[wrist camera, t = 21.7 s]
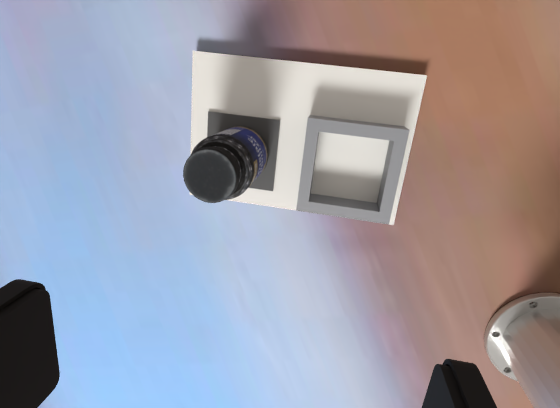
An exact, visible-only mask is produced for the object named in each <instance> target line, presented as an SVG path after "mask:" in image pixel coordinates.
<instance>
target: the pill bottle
mask: <svg viewBox="0 0 560 408" xmlns="http://www.w3.org/2000/svg"><path fill="white" fill-rule="evenodd" d="M267 161H268V149H267V146H266V143H265V141H264V139H263V138H262V137H261V136H260V135H259V134H257V133H256V132H255V131H254V130H253V129H251V128H248V127H243V126H236V127H232V128H229V129H227V130H224V131H222V132H219V133H217V134H214V135H212V136H209V137H207V138H205V139H203V140H201V141H200V142H199V143H198V144H197V145H196V146H195V147H194V149H193V151H192V153H191V156H190V157H189V158H188V159H187V161H186V163H185V166H184V171H183V172H184V173H183V177H184V181H185V184H186V186H187V188H188V190H189V191H190V192H191V193H192V194H193V195H194V196H195V197H196V198H198V199H200V200H202V201H204V202H208V203H216V202H221V201H223V200H229V199H233V198H236V197H238V196H240V195H241V194H243V193H244V192H245V191H246V190H247V188H248V187H249V186H250V185H251V184H252V183H253V182H254V181H255V179H256V178H257V177H258V176H259V175H260V174H261V173H262V171H263V170H264V169H265V167H266V165H267Z"/></svg>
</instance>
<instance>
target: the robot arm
mask: <svg viewBox="0 0 560 408" xmlns="http://www.w3.org/2000/svg"><path fill="white" fill-rule="evenodd" d="M484 345H485V349H486V352H487V355H488V357H489V358H490V360H491V362H492V363H493V365H494V366H495V367H496V368H497V369H498V370H499V371H500V372H501V373H502V374H504V375H505V376H507V377H509V378H511V379H513V380H516V381H518V382H519V384H520V385H521V387H522V389H523V390H524V392H525V394H526V395H527V397H528V399H529V400H530V402H531V404H532V405H533V407H534V408H560V294H558V293H536V294H530V295H526V296H523V297H520V298H518V299H515V300H513V301H511V302H509V303H508V304H506V305H505V306H503V307H502V308H501V309H500V310H499V311H497V312H496V313H495V314H494V316H493V317H492V318H491V320H490V321H489V323H488V325H487V328H486V330H485V335H484ZM59 374H60V373H59V365H58V357H57V349H56V342H55V334H54V326H53V318H52V310H51V302H50V295H49V293H48V292H47V291H46V290H45V287H44V286H43V284H40V283H37V282H31V281H26V280H20V279H18V280H14V281H12V282H10V283H8V284H6V285H5V286H3V287H2V288H0V408H37V407H38V406H39V405H40V404H41V403H42V402H43V401H44V400H45V399H46V398H47V397H48V396H49V394H50V393H51V392H52V391H53V390H54V389H55V387H56V385H57V383H58V381H59ZM422 408H497V406H496V404H495V402H494V400H493V398H492V396H491V394H490V392H489V390H488V388H487V386H486V384H485V382H484V379H483V377H482V375H481V373H480V371H479V369H478V368H477V366H476V365H475V364H473V363H468V362H462V361H457V360H451V359H446V360H445V361H444V363H443V365H441V364H436V365H435V367H434V370H433V373H432V376H431V380H430V383H429V386H428V389H427V393H426V396H425V399H424V402H423V406H422Z"/></svg>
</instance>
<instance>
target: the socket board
mask: <svg viewBox="0 0 560 408" xmlns="http://www.w3.org/2000/svg"><path fill="white" fill-rule="evenodd" d="M426 78H427V75H419V74H410V73H400V72H391V71H381V70H372V69H362V68H352V67H343V66H333V65H324V64H314V63H305V62H295V61H286V60H276V59H267V58H257V57H247V56H238V55H228V54H219V53H209V52H200V51H193V65H192V113H191V153H192V151H193V149H194V147H195V146H196V145H197V144H198V143H199V142H200V141H201V140H203V139H205V138H207V137H209V136H212V135H214V134H217V133H219V132H222V131H224V130H227V129H229V128H232V127H236V126H243V127H248V128H251V129H253V130H254V131H255V132H256V133H257V134H259V135H260V136H261V137H262V138H263V139H264V141H265V143H266V146H267V149H268V161H267V165H266V167H265V169H264V170H263V171H262V173H261V174H260V175H259V176H258V177H257V178H256V179H255V181H254V182H253V183H252V184H251V185H250V186H249V187H248V188H247V190H246V191H245V192H244V193H243V194H241V195H240V196H238V197H236V198H233V199H229V200H230V201H236V202H243V203H250V204H256V205H263V206H270V207H276V208H283V209H290V210H296V211H303V212H309V213H316V214H323V215H329V216H336V217H343V218H350V219H356V220H363V221H370V222H376V223H383V224H390V225H394V221H395V216H396V212H397V207H398V203H399V198H400V194H401V189H402V185H403V180H404V176H405V171H406V167H407V163H408V158H409V154H410V149H411V145H412V140H413V136H414V131H415V127H416V122H417V118H418V113H419V109H420V104H421V100H422V95H423V91H424V87H425V82H426ZM190 195H193V194H192V193H191V192H190Z"/></svg>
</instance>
